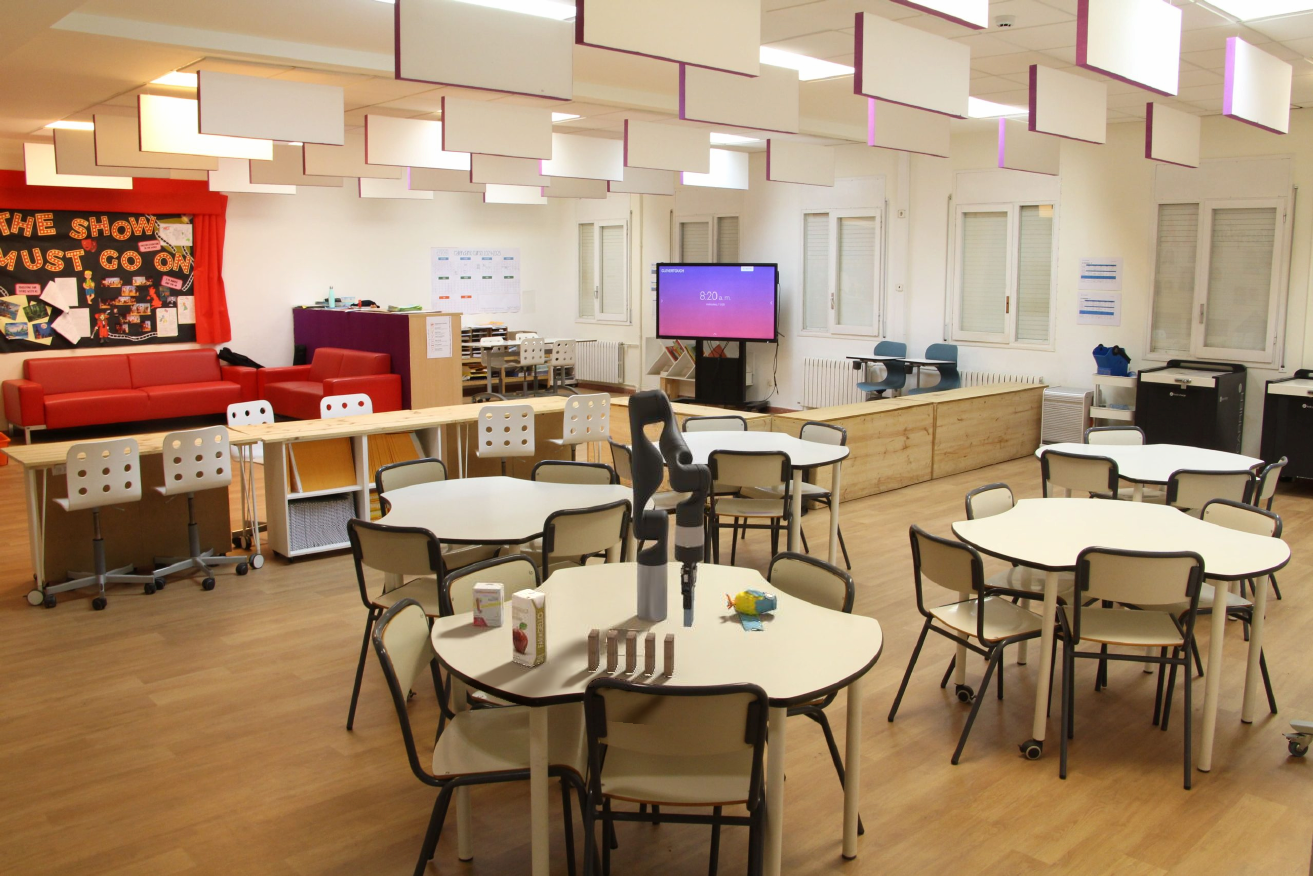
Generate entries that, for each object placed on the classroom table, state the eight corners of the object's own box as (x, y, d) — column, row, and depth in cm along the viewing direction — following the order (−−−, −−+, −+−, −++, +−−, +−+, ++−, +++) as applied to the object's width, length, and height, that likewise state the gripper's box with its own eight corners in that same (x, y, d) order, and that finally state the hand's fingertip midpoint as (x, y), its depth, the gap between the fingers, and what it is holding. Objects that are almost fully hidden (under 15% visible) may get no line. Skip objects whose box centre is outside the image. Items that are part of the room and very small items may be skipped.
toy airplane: (721, 575, 314) (768, 575, 315) (720, 601, 315) (766, 602, 317) (734, 604, 286) (785, 604, 288) (733, 633, 288) (784, 633, 289)
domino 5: (666, 669, 260) (666, 633, 258) (673, 670, 259) (674, 634, 258) (663, 677, 255) (663, 640, 253) (671, 677, 255) (671, 640, 253)
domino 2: (610, 666, 262) (610, 630, 260) (618, 666, 262) (617, 630, 260) (606, 673, 257) (606, 636, 255) (614, 673, 257) (614, 637, 255)
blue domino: (685, 620, 257) (686, 583, 255) (693, 620, 256) (694, 583, 255) (683, 626, 252) (683, 589, 250) (691, 627, 252) (691, 589, 250)
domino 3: (629, 667, 261) (629, 631, 260) (636, 667, 261) (636, 631, 259) (625, 674, 256) (625, 638, 255) (633, 675, 256) (633, 638, 254)
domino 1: (592, 664, 263) (592, 629, 261) (599, 665, 262) (599, 629, 261) (588, 672, 258) (587, 635, 256) (595, 672, 258) (595, 636, 256)
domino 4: (647, 668, 260) (647, 632, 259) (655, 668, 260) (655, 632, 259) (644, 676, 256) (644, 639, 254) (652, 676, 255) (652, 639, 254)
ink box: (472, 626, 291) (471, 587, 289) (476, 620, 296) (475, 582, 294) (501, 627, 290) (500, 588, 288) (504, 621, 295) (504, 583, 293)
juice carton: (529, 653, 270) (528, 586, 267) (551, 661, 265) (550, 593, 262) (508, 661, 265) (507, 593, 261) (530, 669, 259) (529, 600, 256)
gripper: (678, 533, 258) (677, 595, 261) (670, 548, 244) (670, 614, 247) (706, 534, 257) (705, 597, 260) (701, 549, 243) (700, 615, 246)
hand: (688, 605), depth 253 cm, fingers closed on blue domino, 5 cm apart
